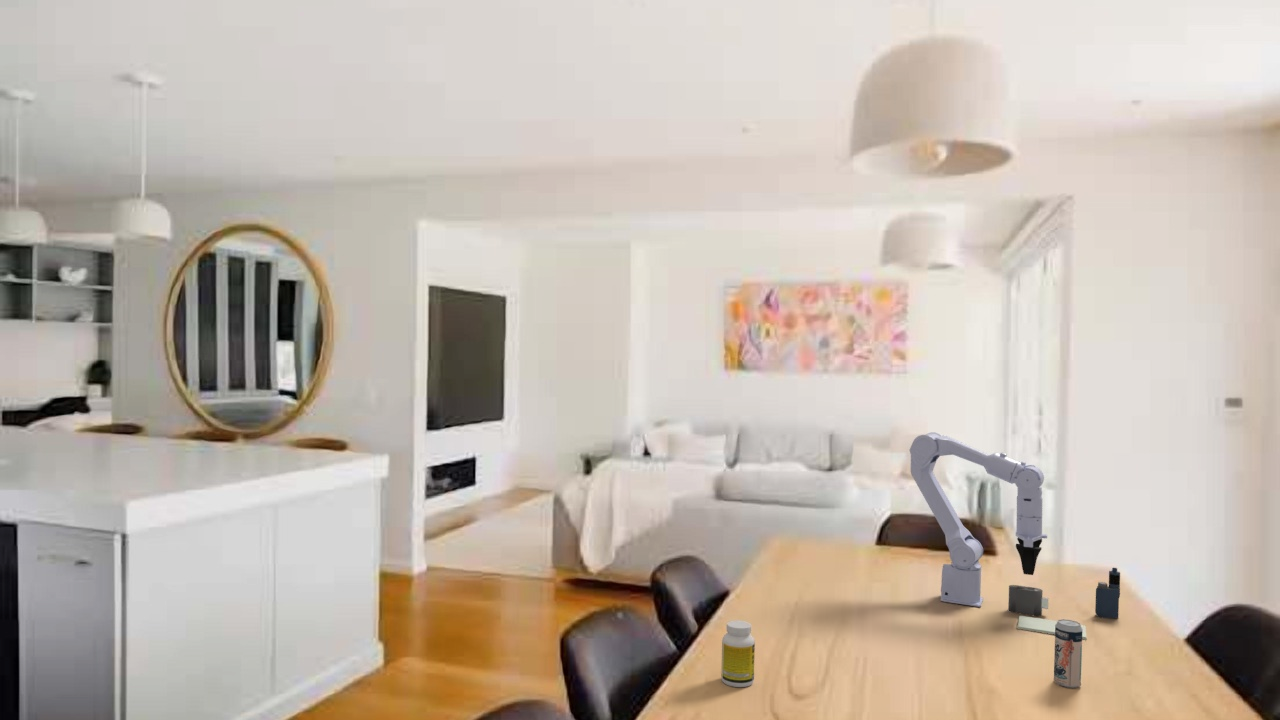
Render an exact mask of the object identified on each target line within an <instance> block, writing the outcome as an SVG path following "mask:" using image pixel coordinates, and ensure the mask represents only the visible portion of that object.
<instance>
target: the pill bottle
mask: <svg viewBox="0 0 1280 720" xmlns="http://www.w3.org/2000/svg"><path fill="white" fill-rule="evenodd" d="M725 630H726V633H725V634H724V635H723V636H722V638H721V639H722V640H721V672H720V674H721V681H722V683H724V684H725V685H726V686H729V687H733V688H745V687H746V688H748V687H750V686H751V685H753V684H754V682H755V681H754V680H755V653H756V651H755V649H756V648H755V645H756V644H755V643H756V642H755V641H756V640H755V638H754V637H753V636H752V634H751V633H752V624H751V623H750V622H747V621H745V620H739V619H738V620H729V621H728V622H727V623H726V629H725Z"/></svg>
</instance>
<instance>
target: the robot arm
mask: <svg viewBox="0 0 1280 720" xmlns="http://www.w3.org/2000/svg"><path fill="white" fill-rule="evenodd" d="M909 454H910V473H911V474H910V475H911V476H912V478H913V480H914V482H915V484H916V486H917V487H918V489H919V491H920V492H921V494H922V496H923V498H924V500H925V501H926V503H927V505H928V507H929V508H930V511H931V512H932V514H933V516H934V517H935V519H936V521H937V523H938V524H939V526H940V528H941V530H942V532H943V534H944V535H945V536H944V537H945V545H946V546H947V548H948V552H949V559H950V561H951V562H950V563H949V564H948V563H944V564H943V565H942V568H941V569H942V570H941V583H940V584H941V587H940V601H941V602H944V603H949V604H957V605H958V604H959V605H965V606H970V607H971V606H972V607H978V608H981V606H982V603H983V600H984V597H983V596H981V592H982V591H981V590H982V589H981V588H982V585H981V584H982V565H981V563H980V561H979V560H980V559H981V558H982V556H983V555H984V548H983V545H982V544H981V542H980V541H979V540H978V539H977V538H975V537H974V536H973V534H972V533H971V531H969V529H967V528H966V527H965V526H964V525H963V523H962V521H961V519H960V517H959V516H958V514H957V512H956V511H955V507H953V505H952V504H951V502H950V500H949V498H948V496H947V494H946V493H945V491H944V489H943V487H942V486H941V484H940V482H939V480H938V479H937V476H935V474H934V469H935V466H936V463H937V460H938V459H939V458H940V457H941V456H942V457H944V456H956V457H958V458H961V459H963V460H966V461H969V462H971V463H973V464H975V465H979V466H982V467H984V470H985V472H986V473H987V474H988V475H991V476H993V477H995V478H996V479H1000V480H1003V481H1004V482H1007V483H1010V484H1012V485H1013V484H1015V486H1016V487H1017V496H1016V531H1015V536H1016V537H1017V538H1016V539H1017V542H1018V543H1016V544H1015V548H1016V550H1017V552H1018V554H1019V559H1020V563H1021V569H1022V572H1023V575H1026V576H1027V575H1028V576H1034V573H1035V571H1036V564H1037V560H1038V557H1039V554H1040V552H1041V551H1042V547H1040V546H1041V544H1042V542H1043V539H1048V534H1046V533H1043V497H1042V496H1043V491H1042V489H1043V488H1042V485H1043V484H1044V481H1045V475H1044V473H1043V472H1042V470H1041V469H1040V468H1038V467H1037V466H1036V465H1034V464H1028V465H1027V462H1026V461H1021V462H1020V461H1018V460H1016V459H1013V458H1010V457H1008V456H1007V455H1008V454H1007V453H1005V452H1000V453H999V452H994V453H991V454H987V452H986V453H985V452H984V451H982V450H979V449H977V448H974V447H972V446H970V445H968V444H966V443H963V442H962V441H959V440H957V439H955V438H952V437H950V436H948V435H944V434H943V435H941V434H940V433H937V432H928V433H926V434H920V435H918V436H916V437H915V438H914V439H913V440H912V443H911V445H910V447H909Z"/></svg>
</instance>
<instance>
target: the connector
mask: <svg viewBox="0 0 1280 720" xmlns="http://www.w3.org/2000/svg"><path fill="white" fill-rule="evenodd" d="M1007 604H1008V606H1007V607H1008V609H1007V611H1008V610H1009V611H1008V612H1010V613H1013V614H1019V613H1021V614H1020V615H1025V614H1027V615H1026V616H1032V615H1034V616H1033V617H1041V616H1043V609H1044V610H1049V597H1044V596H1043V589H1042V588H1038V587H1034V586H1033V587H1032V586H1026V585H1018V584H1010V585H1008V603H1007Z"/></svg>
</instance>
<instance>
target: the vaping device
mask: <svg viewBox="0 0 1280 720" xmlns="http://www.w3.org/2000/svg"><path fill="white" fill-rule="evenodd" d="M1111 568H1112V569H1111V570H1109V572H1108V583H1107V582H1105V581H1098V582H1097V586H1096V588H1095V608H1094V609H1095V610H1094V611H1095V614H1096V615H1095V616H1096V617H1098V618H1102V617H1103V618H1102V619H1119V612H1120V611H1119V610H1120V609H1119V608H1120V607H1119V605H1120V604H1119V603H1120V602H1119V601H1120V597H1121V596H1120V595H1121V587H1120V586H1121V585H1120V584H1121V572H1120V571H1118V568H1117V567H1111Z"/></svg>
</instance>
